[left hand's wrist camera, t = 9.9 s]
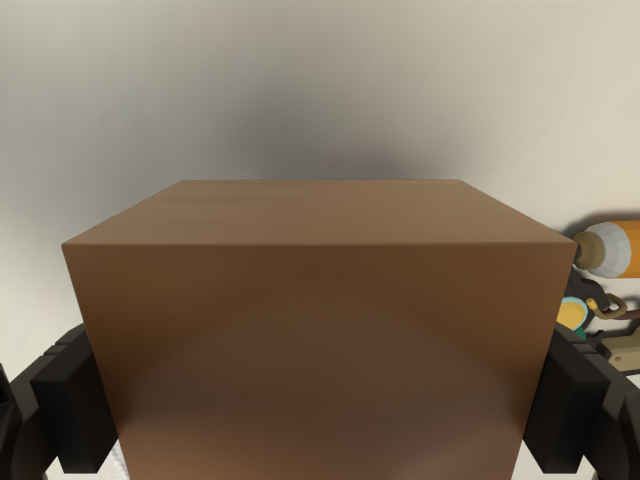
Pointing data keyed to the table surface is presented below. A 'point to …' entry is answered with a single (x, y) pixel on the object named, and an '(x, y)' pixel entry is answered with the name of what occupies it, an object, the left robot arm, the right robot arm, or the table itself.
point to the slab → (320, 328)
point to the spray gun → (589, 298)
